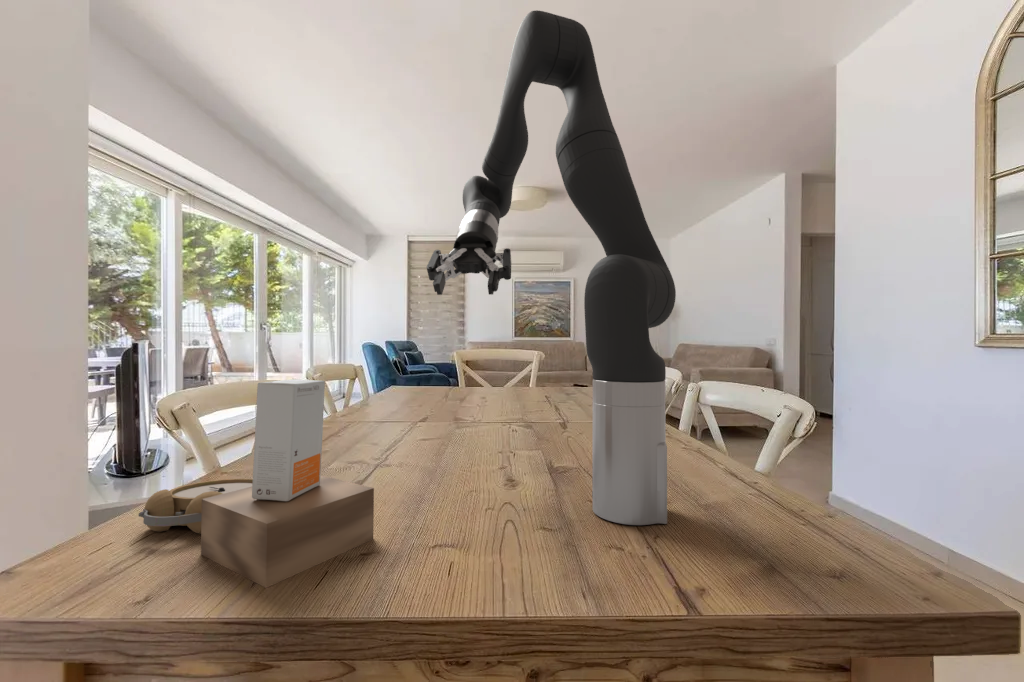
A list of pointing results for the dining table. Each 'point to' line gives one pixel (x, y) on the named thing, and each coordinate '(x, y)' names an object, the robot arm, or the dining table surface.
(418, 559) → the dining table surface
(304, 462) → the skincare box
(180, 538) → the dining table surface
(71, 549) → the dining table surface
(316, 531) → the walnut block
